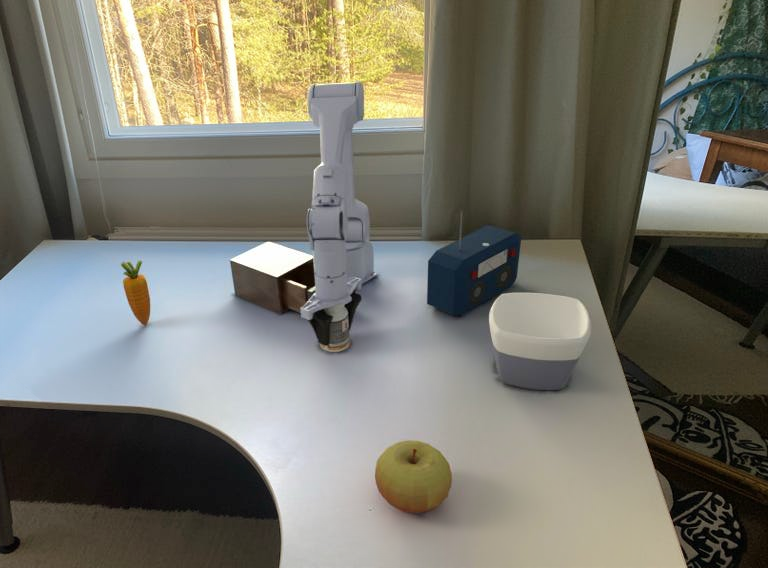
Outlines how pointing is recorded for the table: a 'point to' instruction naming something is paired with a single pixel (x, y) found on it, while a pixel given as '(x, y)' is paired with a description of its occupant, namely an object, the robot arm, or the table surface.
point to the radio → (472, 269)
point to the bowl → (538, 338)
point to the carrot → (137, 292)
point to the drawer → (298, 287)
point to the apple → (413, 476)
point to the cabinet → (266, 273)
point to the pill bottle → (338, 329)
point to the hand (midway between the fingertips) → (334, 336)
